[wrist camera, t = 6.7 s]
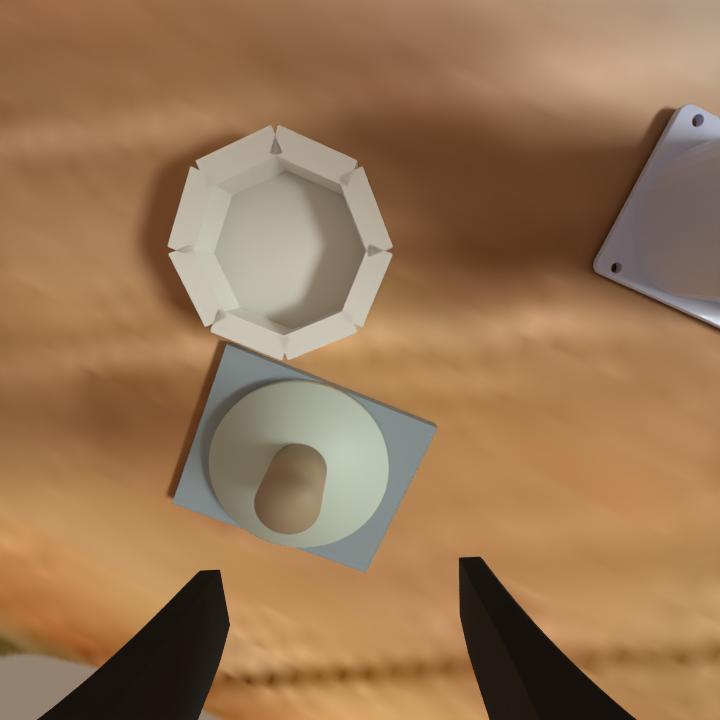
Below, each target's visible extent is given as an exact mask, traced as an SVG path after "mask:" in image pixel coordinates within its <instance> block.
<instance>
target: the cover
mask: <svg viewBox="0 0 720 720" xmlns="http://www.w3.org/2000/svg"><path fill="white" fill-rule="evenodd" d="M209 473H210V478H211V483H212V486H213V489H214V492H215V494H216V496H217V498H218V500H219V502H220V503H221V505H222V506H223V508H224V509H225V511H226V512H227V513H228V514H229V515H230V517H231V518H232V519H233V520H234V521H235V522H236V523H238V524H239V525H240V526H241V527H242V528H244V529H245V530H247V531H248V532H249V533H251V534H253V535H255V536H257V537H258V538H260V539H263V540H265V541H268V542H270V543H274V544H278V545H282V546H288V547H300V548H306V547H316V546H322V545H326V544H330V543H333V542H336V541H338V540H340V539H343V538H345V537H347V536H348V535H350V534H352V533H353V532H355V531H356V530H357V529H359V528H360V527H361V526H362V525H364V524H365V523H366V522H367V521H368V519H369V518H370V517H371V516H372V515H373V513H374V512H375V511H376V509H377V508H378V506H379V504H380V502H381V500H382V498H383V496H384V493H385V490H386V486H387V482H388V473H389V464H388V454H387V448H386V444H385V440H384V437H383V434H382V432H381V429H380V428H379V426H378V424H377V422H376V420H375V419H374V418H373V416H372V415H371V413H370V412H369V411H368V410H367V409H366V408H365V407H364V406H363V405H362V404H361V403H360V402H359V401H358V400H356V399H355V398H354V397H353V396H351V395H350V394H348V393H346V392H345V391H343V390H342V389H339V388H337V387H335V386H333V385H330V384H327V383H323V382H319V381H314V380H307V379H290V380H282V381H277V382H273V383H270V384H267V385H264V386H262V387H260V388H258V389H256V390H254V391H252V392H250V393H249V394H247V395H246V396H245V397H243V398H242V399H241V400H240V401H239V402H238V403H237V404H235V405H234V406H233V407H232V408H231V409H230V410H229V412H228V413H227V414H226V415H225V417H224V418H223V419H222V421H221V422H220V424H219V426H218V427H217V429H216V432H215V434H214V436H213V439H212V443H211V447H210V452H209Z"/></svg>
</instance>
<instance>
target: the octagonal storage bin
mask: <svg viewBox="0 0 720 720" xmlns="http://www.w3.org/2000/svg"><path fill="white" fill-rule="evenodd" d="M195 161H196V163H197V165H198V167H199V170H198V169H196V168H193V167H191V166H190V170H189V173H188V177H187V180H186V184H185V187H184V190H183V194H182V197H181V201H180V204H179V208H178V211H177V215H176V218H175V222H174V225H173V229H172V232H171V235H170V239H169V242H168V246H167V247H170V248H172V249H174V250H176V251H173V252H171V253H169V256H170V258H171V260H172V262H173V264H174V266H175V268H176V270H177V272H178V274H179V276H180V278H181V280H182V282H183V284H184V286H185V288H186V290H187V292H188V294H189V296H190V298H191V300H192V302H193V304H194V306H195V308H196V310H197V312H198V314H199V316H200V318H201V320H202V322H203V324H204V326H205V327H207V326H210V325H212V328H211V331H210V332H212V333H215V334H217V335H220V336H222V337H225V338H227V339H230V340H232V341H235V342H237V343H240V344H242V345H245V346H247V347H250V348H252V349H255V350H257V351H260V352H262V353H265V354H267V355H270V356H272V357H275V358H277V359H280V360H282V359H283V358H284V357H285V356H287V359H288V360H290V359H293V358H295V357H298V356H300V355H302V354H305V353H307V352H310V351H312V350H315V349H317V348H320V347H322V346H324V345H327V344H329V343H332V342H334V341H337V340H339V339H342V338H344V337H347V336H349V335H351V334H354V333H356V332H357V331H358V326H360V327H363V324H364V322H365V320H366V317H367V315H368V312H369V310H370V308H371V305H372V303H373V301H374V298H375V296H376V293H377V291H378V289H379V286H380V284H381V281H382V279H383V277H384V274H385V272H386V270H387V267H388V265H389V262H390V260H391V258H392V255H393V254H391V253H389V252H387V251H389V250H390V249H391V248H392V247H393V245H392V243H391V240H390V238H389V235H388V232H387V230H386V227H385V224H384V222H383V219H382V216H381V214H380V211H379V208H378V206H377V203H376V200H375V198H374V195H373V192H372V190H371V187H370V185H369V182H368V179H367V177H366V174H365V171H364V169H363V166H362V167H360V168H358V162H357V160H355V159H353V158H351V157H349V156H347V155H344V154H342V153H340V152H338V151H336V150H333V149H331V148H329V147H327V146H324V145H322V144H320V143H318V142H316V141H313V140H311V139H309V138H307V137H305V136H302V135H300V134H298V133H296V132H294V131H291V130H289V129H287V128H285V127H282V126H280V125H278V128H277V131H276V132H275V131H274V129H273V127H272V126H271V125H269V126H267V127H265V128H263V129H261V130H259V131H257V132H255V133H253V134H250V135H248V136H246V137H244V138H242V139H240V140H238V141H236V142H233V143H231V144H229V145H227V146H225V147H223V148H221V149H219V150H217V151H214V152H212V153H210V154H208V155H206V156H204V157H202V158H200V159H198V160H195Z"/></svg>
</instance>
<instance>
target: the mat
mask: <svg viewBox="0 0 720 720" xmlns="http://www.w3.org/2000/svg"><path fill="white" fill-rule="evenodd" d="M290 379H307V380H314V381H319V382H323V383H327V384H330V385H333V386H335V387H337V388H339V389H342V390H343V391H345V392H346V393H348V394H350V395H351V396H353V397H354V398H355V399H356V400H358V401H359V402H360V403H361V404H362V405H363V406H364V407H365V408H366V409H367V410H368V411H369V412H370V413H371V415H372V416H373V418H374V419H375V420H376V422H377V424H378V426H379V428H380V429H381V432H382V434H383V437H384V440H385V444H386V448H387V454H388V464H389V473H388V482H387V486H386V490H385V493H384V496H383V498H382V500H381V502H380V504H379V506H378V508H377V509H376V511H375V512H374V513H373V515H372V516H371V517H370V518H369V519H368V521H367V522H366V523H365V524H364V525H362V526H361V527H360V528H359V529H357V530H356V531H355V532H353V533H352V534H350V535H348V536H347V537H345V538H343V539H340V540H338V541H336V542H333V543H330V544H326V545H322V546H316V547H306V548H300V547H295V548H298V549H301V550H304V551H306V552H309V553H312V554H315V555H318V556H320V557H323V558H326V559H329V560H331V561H334V562H337V563H340V564H343V565H345V566H348V567H351V568H354V569H357V570H359V571H362V572H365V573H366V572H367V570H368V568H369V566H370V564H371V562H372V560H373V558H374V556H375V554H376V552H377V549H378V547H379V545H380V543H381V541H382V539H383V537H384V535H385V533H386V531H387V529H388V527H389V525H390V523H391V521H392V519H393V517H394V515H395V513H396V511H397V509H398V507H399V505H400V503H401V501H402V499H403V497H404V495H405V493H406V491H407V489H408V487H409V485H410V483H411V481H412V479H413V477H414V475H415V473H416V471H417V469H418V467H419V465H420V463H421V461H422V459H423V457H424V455H425V453H426V450H427V448H428V446H429V444H430V442H431V440H432V438H433V436H434V434H435V432H436V430H437V426H436V424H434V423H432V422H429V421H427V420H424V419H422V418H419V417H417V416H414V415H412V414H409V413H407V412H404V411H402V410H399V409H397V408H394V407H392V406H389V405H387V404H384V403H382V402H379V401H377V400H374V399H372V398H369V397H367V396H364V395H362V394H359V393H357V392H354V391H352V390H349V389H347V388H344V387H342V386H339V385H337V384H334V383H332V382H329V381H327V380H324V379H322V378H319V377H317V376H314V375H312V374H309V373H307V372H304V371H302V370H299V369H297V368H294V367H292V366H289V365H287V364H284V363H282V362H279V361H276V360H274V359H271V358H269V357H266V356H264V355H261V354H259V353H256V352H254V351H251V350H249V349H246V348H244V347H241V346H239V345H236V344H234V343H231V342H230V343H228V344H226V347H225V350H224V353H223V356H222V359H221V362H220V365H219V368H218V371H217V374H216V377H215V379H214V382H213V385H212V388H211V391H210V394H209V397H208V400H207V403H206V406H205V409H204V412H203V415H202V417H201V420H200V423H199V426H198V429H197V432H196V435H195V438H194V441H193V444H192V447H191V450H190V453H189V456H188V458H187V461H186V464H185V467H184V470H183V473H182V476H181V479H180V482H179V485H178V488H177V491H176V494H175V496H174V499H173V502H172V503H173V504H175V505H178V506H181V507H184V508H187V509H189V510H192V511H195V512H198V513H201V514H203V515H206V516H209V517H212V518H214V519H217V520H220V521H223V522H226V523H228V524H231V525H234V526H237V527H240V528H242V527H241V526H240V525H239V524H238V523H236V522H235V521H234V520H233V519H232V518H231V517H230V515H229V514H228V513H227V512H226V511H225V509H224V508H223V506H222V505H221V503H220V502H219V500H218V498H217V496H216V494H215V492H214V489H213V486H212V483H211V478H210V473H209V452H210V447H211V443H212V439H213V436H214V434H215V432H216V429H217V427H218V426H219V424H220V422H221V421H222V419H223V418H224V417H225V415H226V414H227V413H228V412H229V410H230V409H231V408H232V407H233V406H234V405H235V404H237V403H238V402H239V401H240V400H241V399H242V398H243V397H245V396H246V395H247V394H249V393H250V392H252V391H254V390H256V389H258V388H260V387H262V386H264V385H267V384H270V383H273V382H277V381H282V380H290ZM242 529H244V528H242Z"/></svg>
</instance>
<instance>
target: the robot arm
mask: <svg viewBox="0 0 720 720" xmlns="http://www.w3.org/2000/svg"><path fill="white" fill-rule="evenodd" d="M693 118H694V119H695V120H696V126H695V127H694V126H693V125H692V119H693ZM614 263H615V264H616V266H617V268H616V271H615V272H614V273H613V272H612V271H611V267H612V265H613V264H614ZM593 268H594V270H595V272H597V273H598V274H600V275H602V276H604V277H607V278H609V279H611V280H613V281H616V282H618V283H620V284H622V285H624V286H627V287H629V288H631V289H633V290H635V291H638V292H640V293H642V294H644V295H647V296H649V297H651V298H653V299H655V300H658V301H660V302H662V303H664V304H666V305H669V306H671V307H673V308H675V309H678V310H680V311H682V312H684V313H686V314H689V315H691V316H693V317H695V318H697V319H700V320H702V321H704V322H706V323H709V324H711V325H713V326H715V327H717V328H720V118H719V117H717V116H715V115H713V114H711V113H709V112H707V111H705V110H703V109H701V108H699V107H697V106H695V105H693V104H687V105H684V106H682V107H680V108H679V109H677V110H676V111H675V112H674V113H673V115H672V117H671V118H670V120H669V122H668V124H667V126H666V128H665V130H664V132H663V133H662V135H661V137H660V139H659V141H658V143H657V145H656V146H655V148H654V150H653V152H652V154H651V156H650V158H649V159H648V161H647V163H646V165H645V167H644V169H643V171H642V172H641V174H640V176H639V178H638V180H637V182H636V184H635V185H634V187H633V189H632V191H631V193H630V195H629V197H628V199H627V200H626V202H625V204H624V206H623V208H622V210H621V212H620V213H619V215H618V217H617V219H616V221H615V223H614V225H613V226H612V228H611V230H610V232H609V234H608V236H607V238H606V239H605V241H604V243H603V245H602V247H601V249H600V251H599V252H598V254H597V256H596V258H595V260H594V263H593ZM459 595H460V618H461V622H462V627H463V632H464V636H465V641H466V645H467V649H468V654H469V657H470V660H471V663H472V667H473V670H474V673H475V676H476V679H477V682H478V685H479V688H480V691H481V694H482V698H483V701H484V704H485V707H486V710H487V713H488V716H489V719H490V720H636V719H635V718H634V717H633V716H631V715H630V714H629V713H628V712H627V711H625V710H624V709H623V708H622V707H621V706H619V705H618V704H617V703H616V702H615V701H614V700H613V699H612V698H610V697H609V696H608V695H607V694H606V693H605V692H604V691H602V690H601V689H600V688H599V687H598V686H597V685H596V684H595V683H594V682H593V681H592V680H590V679H589V678H588V677H587V676H586V675H585V674H584V673H583V672H582V671H581V670H580V669H579V668H578V667H577V666H576V665H575V664H574V663H573V662H572V661H571V660H570V659H569V658H568V657H567V656H566V655H565V654H564V653H563V652H562V651H561V650H560V649H559V648H558V647H557V646H556V645H555V644H554V643H553V642H552V641H551V640H550V639H549V638H548V637H547V636H546V635H545V634H544V633H543V631H542V630H541V629H540V628H539V627H538V626H537V625H536V624H535V623H534V622H533V620H532V619H531V618H530V617H529V616H528V615H527V614H526V612H525V611H524V610H523V609H522V608H521V607H520V606H519V604H518V603H517V602H516V601H515V600H514V598H513V597H512V596H511V595H510V594H509V592H508V591H507V590H506V589H505V587H504V586H503V585H502V584H501V582H500V581H499V580H498V579H497V577H496V576H495V575H494V574H493V572H492V571H491V570H490V568H489V567H488V566H487V564H486V563H485V562H484V560H483V559H482V558H481V557H463V558H459ZM229 627H230V622H229V617H228V612H227V606H226V601H225V595H224V590H223V584H222V579H221V573H220V570H203V571H199V572H198V573H197V574H196V575H195V576H194V577H193V578H192V579H191V580H190V581H189V582H188V583H187V584H186V585H185V586H184V587H183V588H182V589H181V590H180V591H179V592H178V593H177V594H176V595H175V596H174V597H173V598H172V599H171V600H170V601H169V602H168V603H167V604H166V606H165V607H164V608H163V609H161V610H160V611H159V612H158V613H157V614H156V615H155V616H154V617H153V618H152V619H151V620H150V621H149V622H148V623H147V624H146V625H145V626H144V627H143V628H142V629H141V630H140V631H139V632H138V633H137V634H136V635H135V636H134V637H133V638H132V639H131V640H130V641H129V642H128V643H126V644H125V645H124V646H123V647H122V648H121V649H120V650H119V651H118V652H117V653H116V654H115V655H114V656H112V657H111V658H110V659H109V660H108V661H107V662H106V663H105V664H104V665H103V666H102V667H101V668H99V669H98V670H97V671H96V672H95V673H94V674H93V675H91V676H90V677H89V678H88V679H87V680H86V681H84V682H83V683H82V684H81V685H80V686H79V687H77V688H76V689H75V690H74V691H72V692H71V693H70V694H69V695H68V696H66V697H65V698H64V699H63V700H61V701H60V702H59V703H58V704H57V705H55V706H54V707H53V708H52V709H50V710H49V711H48V712H47V713H45V714H44V715H43V716H42V717H40V718H39V719H37V720H198V718H199V716H200V713H201V710H202V708H203V705H204V703H205V700H206V698H207V695H208V692H209V690H210V687H211V685H212V682H213V680H214V677H215V674H216V672H217V669H218V666H219V663H220V660H221V656H222V653H223V649H224V646H225V642H226V638H227V634H228V630H229Z"/></svg>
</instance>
